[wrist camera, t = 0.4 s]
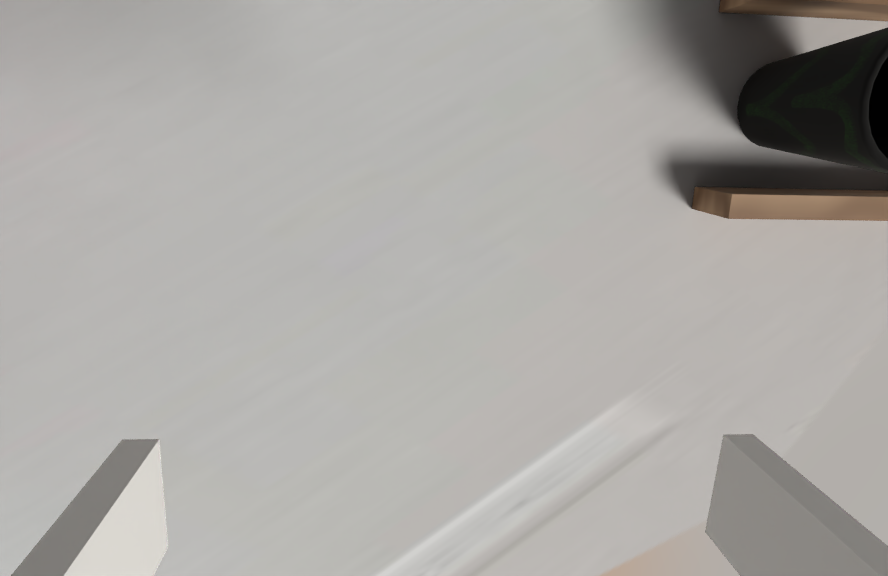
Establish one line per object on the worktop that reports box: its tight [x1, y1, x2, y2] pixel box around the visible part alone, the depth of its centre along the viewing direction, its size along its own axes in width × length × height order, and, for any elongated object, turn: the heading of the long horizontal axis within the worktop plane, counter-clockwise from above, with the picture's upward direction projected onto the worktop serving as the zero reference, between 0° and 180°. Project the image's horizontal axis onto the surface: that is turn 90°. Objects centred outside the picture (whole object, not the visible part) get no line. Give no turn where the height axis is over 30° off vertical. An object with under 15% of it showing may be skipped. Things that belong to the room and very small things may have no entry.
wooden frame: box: [692, 0, 888, 221], centre depth 38 cm, size 14×20×4 cm
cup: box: [738, 28, 888, 173], centre depth 34 cm, size 8×8×12 cm
